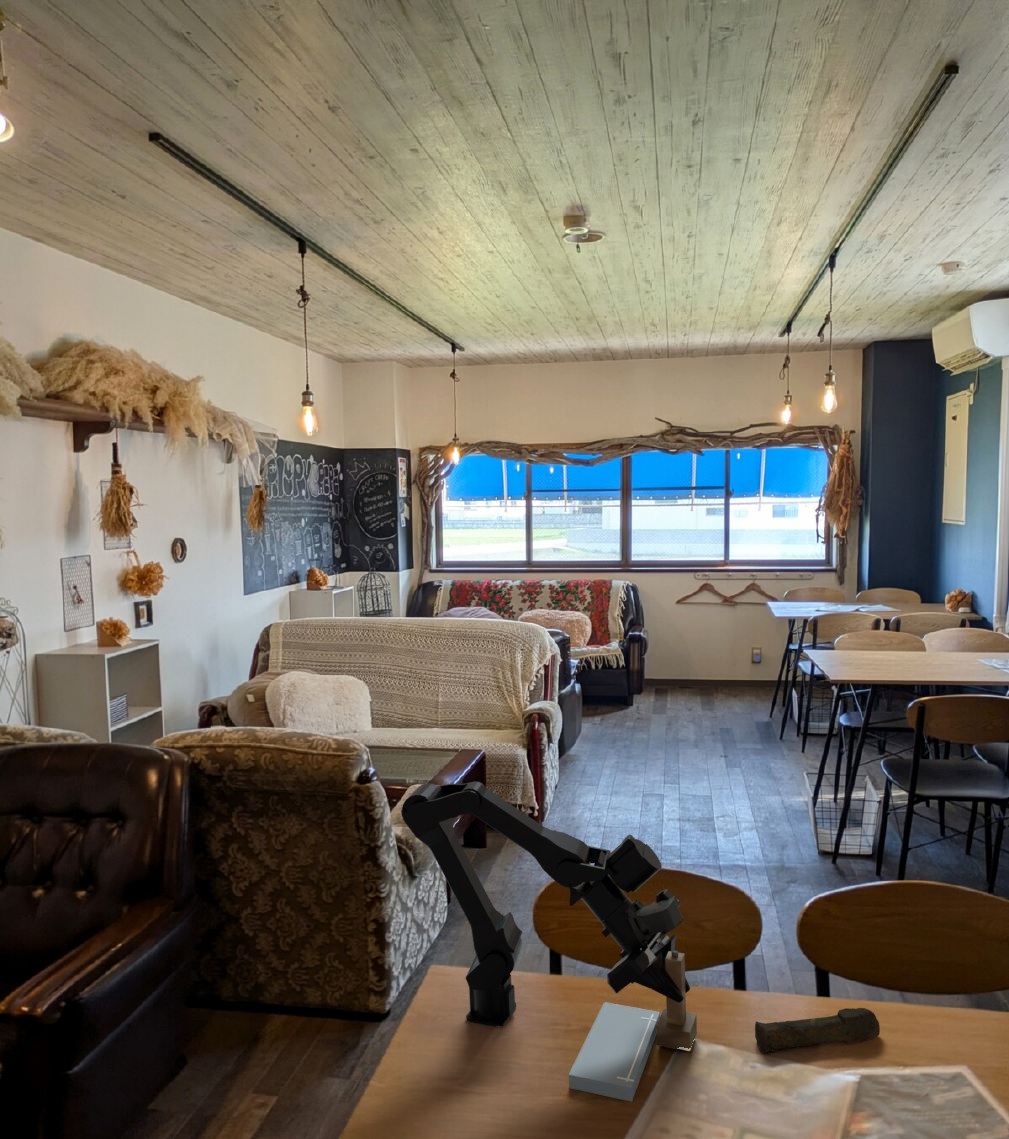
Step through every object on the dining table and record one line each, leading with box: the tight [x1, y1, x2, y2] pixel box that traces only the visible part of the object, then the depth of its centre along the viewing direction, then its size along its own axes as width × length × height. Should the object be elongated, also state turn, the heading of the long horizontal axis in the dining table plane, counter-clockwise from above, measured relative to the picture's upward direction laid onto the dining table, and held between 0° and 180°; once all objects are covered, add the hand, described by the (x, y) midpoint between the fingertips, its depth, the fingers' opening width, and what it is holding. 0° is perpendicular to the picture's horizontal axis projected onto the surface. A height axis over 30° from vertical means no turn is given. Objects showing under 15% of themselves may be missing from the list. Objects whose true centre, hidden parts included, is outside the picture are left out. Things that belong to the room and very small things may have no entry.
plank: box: [568, 1001, 661, 1103], centre depth 130 cm, size 9×19×2 cm, turn 158°
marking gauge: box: [656, 950, 698, 1050], centre depth 131 cm, size 5×5×14 cm
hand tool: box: [754, 1007, 881, 1054], centre depth 130 cm, size 19×4×5 cm, turn 93°
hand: (685, 995), depth 131 cm, fingers closed on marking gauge, 3 cm apart
